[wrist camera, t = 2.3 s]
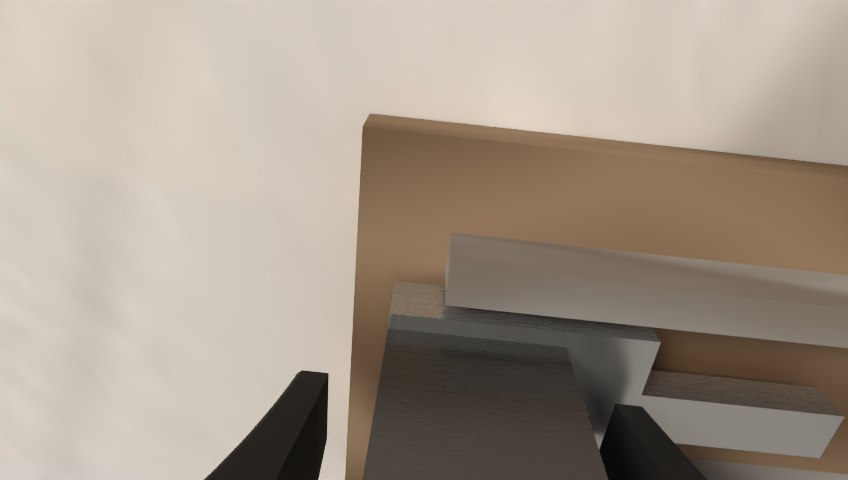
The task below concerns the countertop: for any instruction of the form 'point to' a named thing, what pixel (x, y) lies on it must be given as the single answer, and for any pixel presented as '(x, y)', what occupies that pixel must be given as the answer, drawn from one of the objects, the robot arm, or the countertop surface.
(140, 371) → the countertop surface
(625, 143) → the base
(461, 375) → the plunger
